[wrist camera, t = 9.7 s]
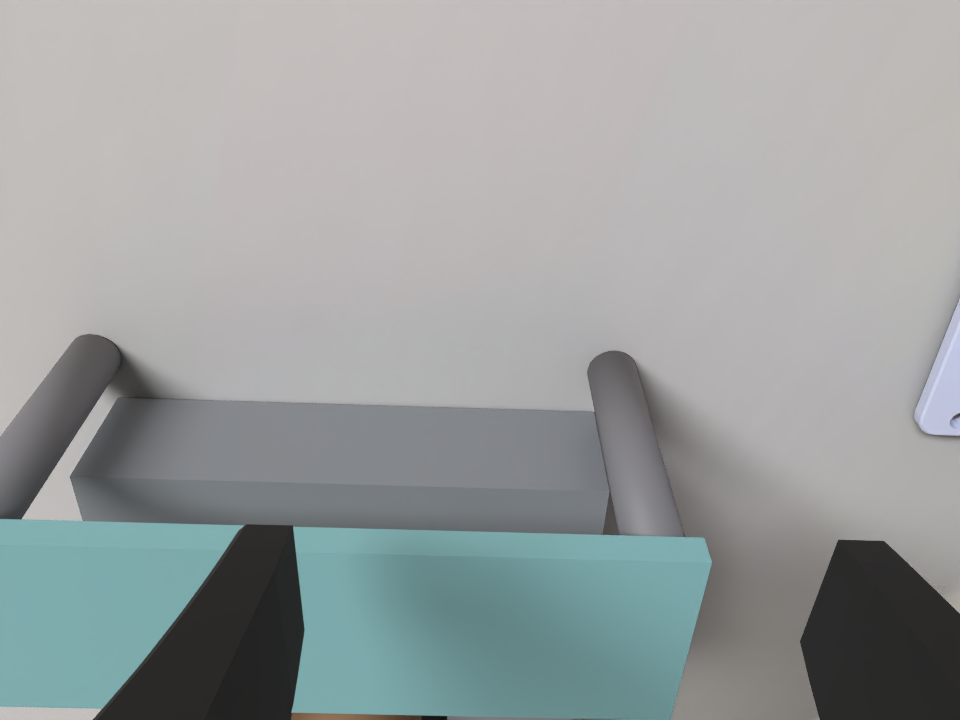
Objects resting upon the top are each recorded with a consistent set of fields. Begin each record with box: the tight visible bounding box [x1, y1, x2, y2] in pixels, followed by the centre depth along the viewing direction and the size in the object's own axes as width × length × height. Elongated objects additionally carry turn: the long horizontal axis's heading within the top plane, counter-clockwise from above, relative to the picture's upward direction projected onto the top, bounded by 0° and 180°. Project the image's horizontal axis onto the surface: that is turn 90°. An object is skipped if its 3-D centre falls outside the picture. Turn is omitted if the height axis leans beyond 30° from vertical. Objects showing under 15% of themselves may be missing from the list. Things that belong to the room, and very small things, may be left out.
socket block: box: [70, 398, 610, 720], centre depth 23 cm, size 12×12×3 cm
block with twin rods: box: [0, 334, 712, 720], centre depth 19 cm, size 14×4×7 cm, turn 88°
